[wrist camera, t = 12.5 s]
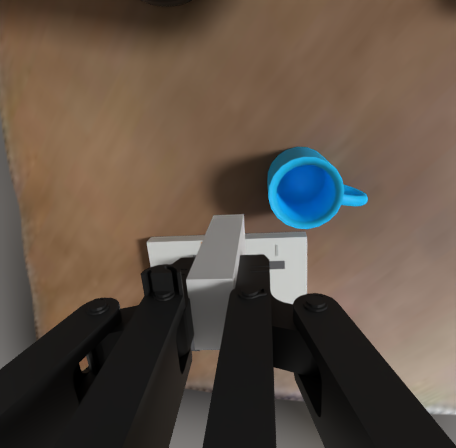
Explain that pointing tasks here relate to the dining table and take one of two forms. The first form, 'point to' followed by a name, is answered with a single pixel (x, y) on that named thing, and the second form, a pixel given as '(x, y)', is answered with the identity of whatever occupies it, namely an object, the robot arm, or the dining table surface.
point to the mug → (308, 189)
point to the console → (255, 244)
